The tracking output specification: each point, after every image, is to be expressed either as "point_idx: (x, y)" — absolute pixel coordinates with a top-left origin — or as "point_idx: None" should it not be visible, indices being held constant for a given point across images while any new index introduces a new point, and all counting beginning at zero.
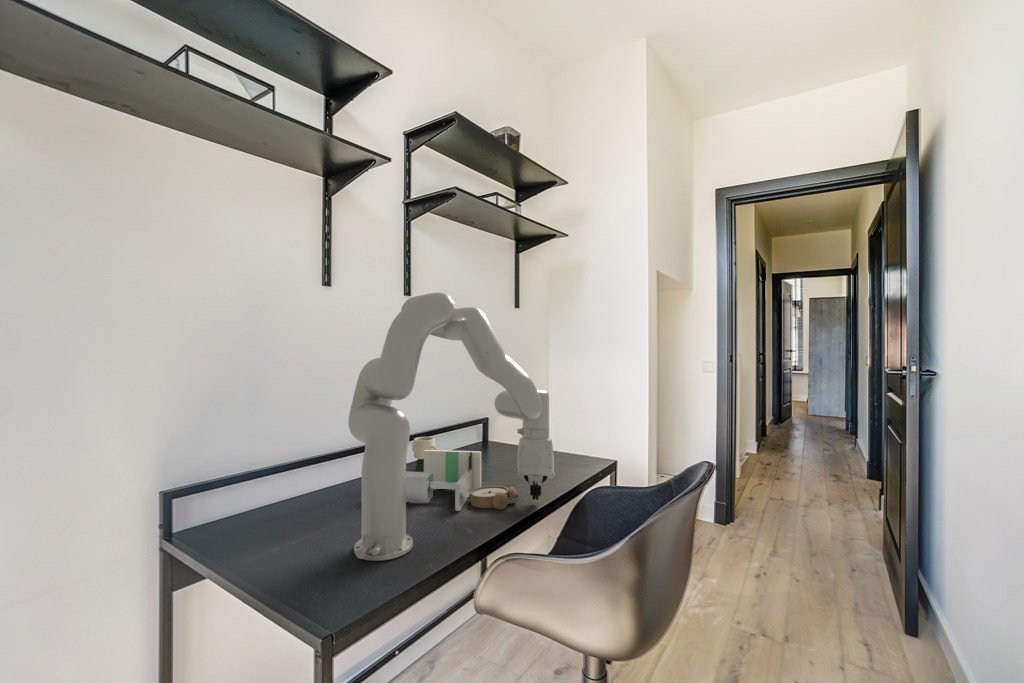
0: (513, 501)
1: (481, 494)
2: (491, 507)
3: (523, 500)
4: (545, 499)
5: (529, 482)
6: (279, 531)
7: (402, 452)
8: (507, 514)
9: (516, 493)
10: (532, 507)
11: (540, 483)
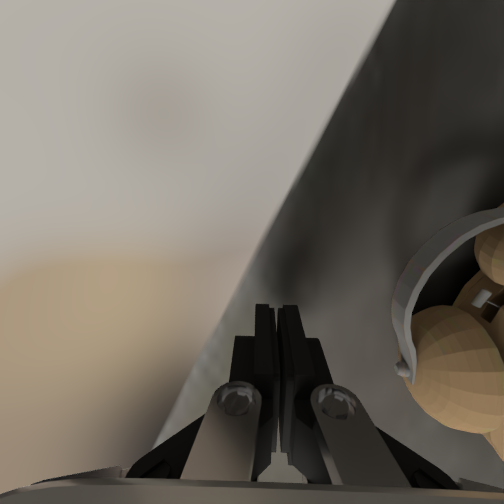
0: (452, 229)
1: None
2: None
3: (344, 371)
4: None
5: (358, 409)
6: None
7: None
8: (468, 121)
9: (420, 370)
10: (290, 269)
11: (225, 400)
